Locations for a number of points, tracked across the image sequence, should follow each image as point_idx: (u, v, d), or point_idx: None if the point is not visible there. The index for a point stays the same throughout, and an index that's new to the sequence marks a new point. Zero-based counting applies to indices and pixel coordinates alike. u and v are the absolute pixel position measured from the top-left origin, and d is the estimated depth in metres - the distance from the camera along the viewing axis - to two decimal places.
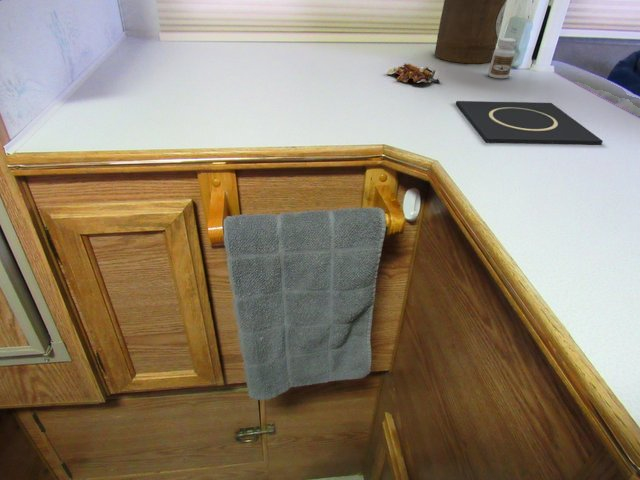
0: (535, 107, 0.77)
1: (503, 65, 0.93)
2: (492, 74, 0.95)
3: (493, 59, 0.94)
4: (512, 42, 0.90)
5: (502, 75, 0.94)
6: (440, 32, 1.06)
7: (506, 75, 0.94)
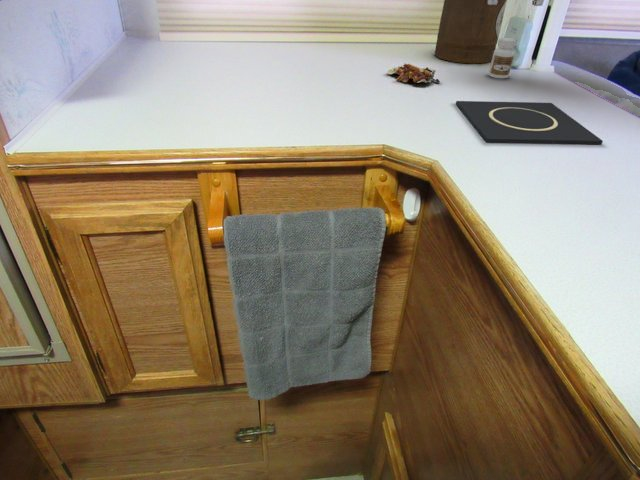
0: (535, 107, 0.77)
1: (503, 65, 0.93)
2: (492, 74, 0.95)
3: (493, 59, 0.94)
4: (512, 42, 0.90)
5: (502, 75, 0.94)
6: (440, 32, 1.06)
7: (506, 75, 0.94)
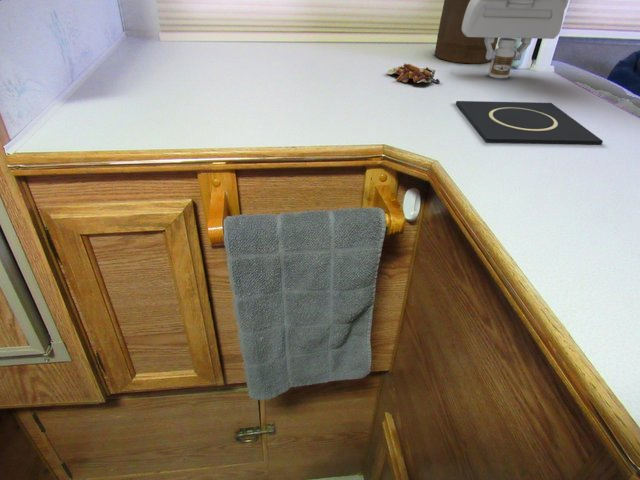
0: (535, 107, 0.77)
1: (503, 65, 0.93)
2: (492, 74, 0.95)
3: None
4: (512, 42, 0.90)
5: (502, 75, 0.94)
6: (440, 32, 1.06)
7: (506, 75, 0.94)
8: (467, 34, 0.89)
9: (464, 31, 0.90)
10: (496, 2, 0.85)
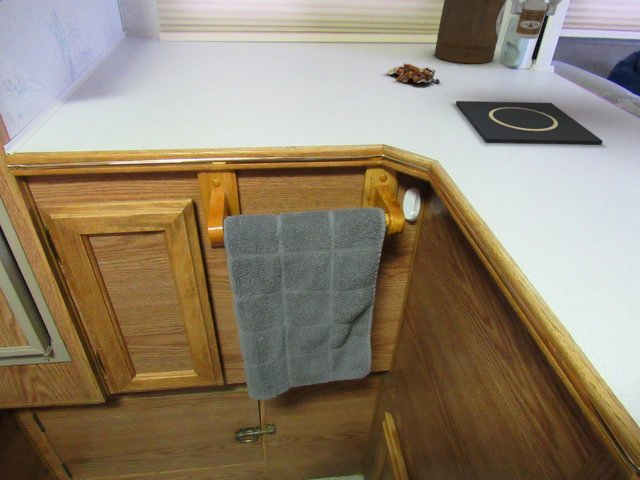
0: (535, 107, 0.77)
1: (532, 21, 0.73)
2: (518, 34, 0.75)
3: None
4: None
5: (531, 34, 0.74)
6: (440, 32, 1.06)
7: (536, 35, 0.75)
8: None
9: None
10: None
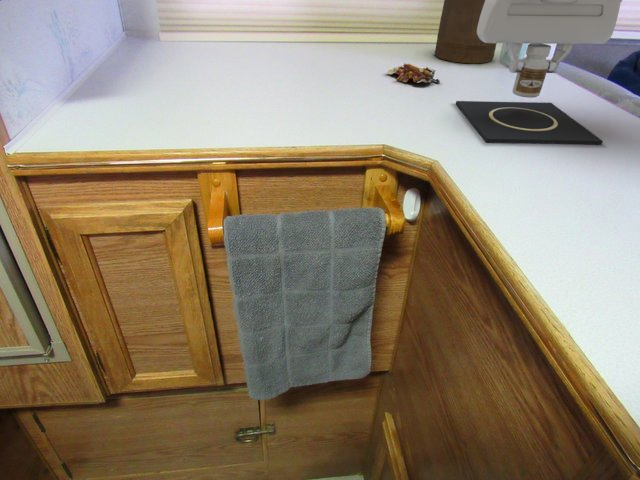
0: (535, 107, 0.77)
1: (533, 80, 0.69)
2: (518, 92, 0.71)
3: None
4: (546, 49, 0.66)
5: (532, 93, 0.70)
6: (440, 32, 1.06)
7: (537, 93, 0.70)
8: (485, 39, 0.65)
9: (481, 35, 0.66)
10: None
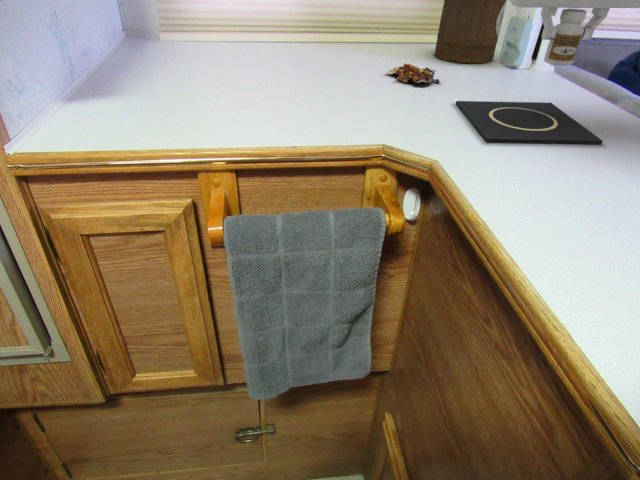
0: (535, 107, 0.77)
1: (567, 46, 0.67)
2: (551, 60, 0.69)
3: None
4: (582, 14, 0.64)
5: (565, 60, 0.68)
6: (440, 32, 1.06)
7: (570, 61, 0.68)
8: (519, 3, 0.64)
9: None
10: None
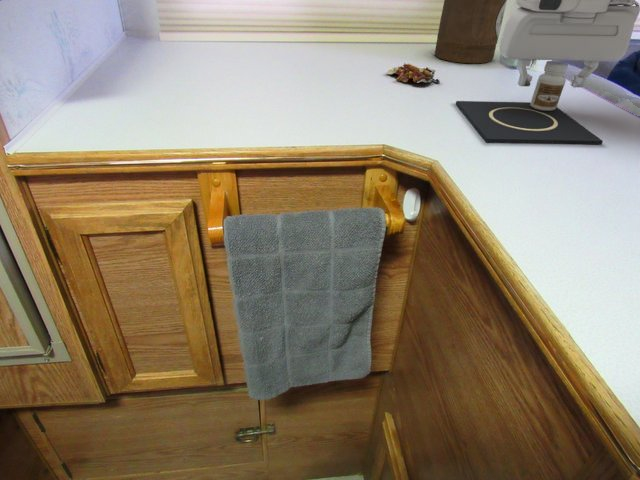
0: None
1: (550, 95, 0.74)
2: (536, 105, 0.76)
3: (538, 87, 0.75)
4: (564, 67, 0.72)
5: (549, 107, 0.75)
6: (440, 32, 1.06)
7: (554, 107, 0.75)
8: (508, 56, 0.70)
9: (504, 52, 0.71)
10: (548, 16, 0.66)
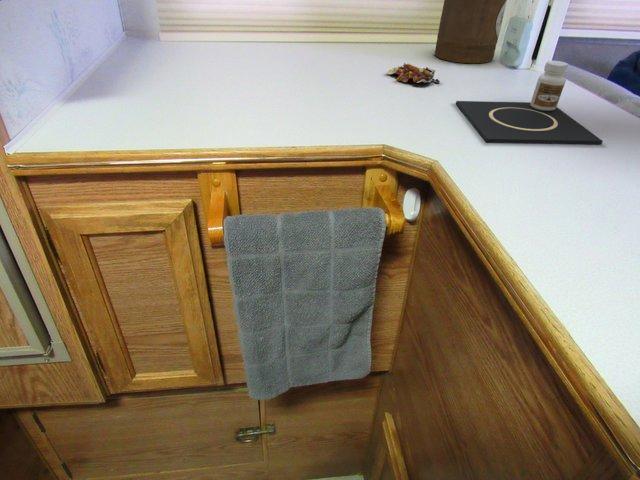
0: None
1: (550, 95, 0.74)
2: (536, 105, 0.76)
3: (538, 87, 0.75)
4: (564, 67, 0.72)
5: (549, 106, 0.75)
6: (440, 32, 1.06)
7: (554, 107, 0.75)
8: None
9: None
10: None
